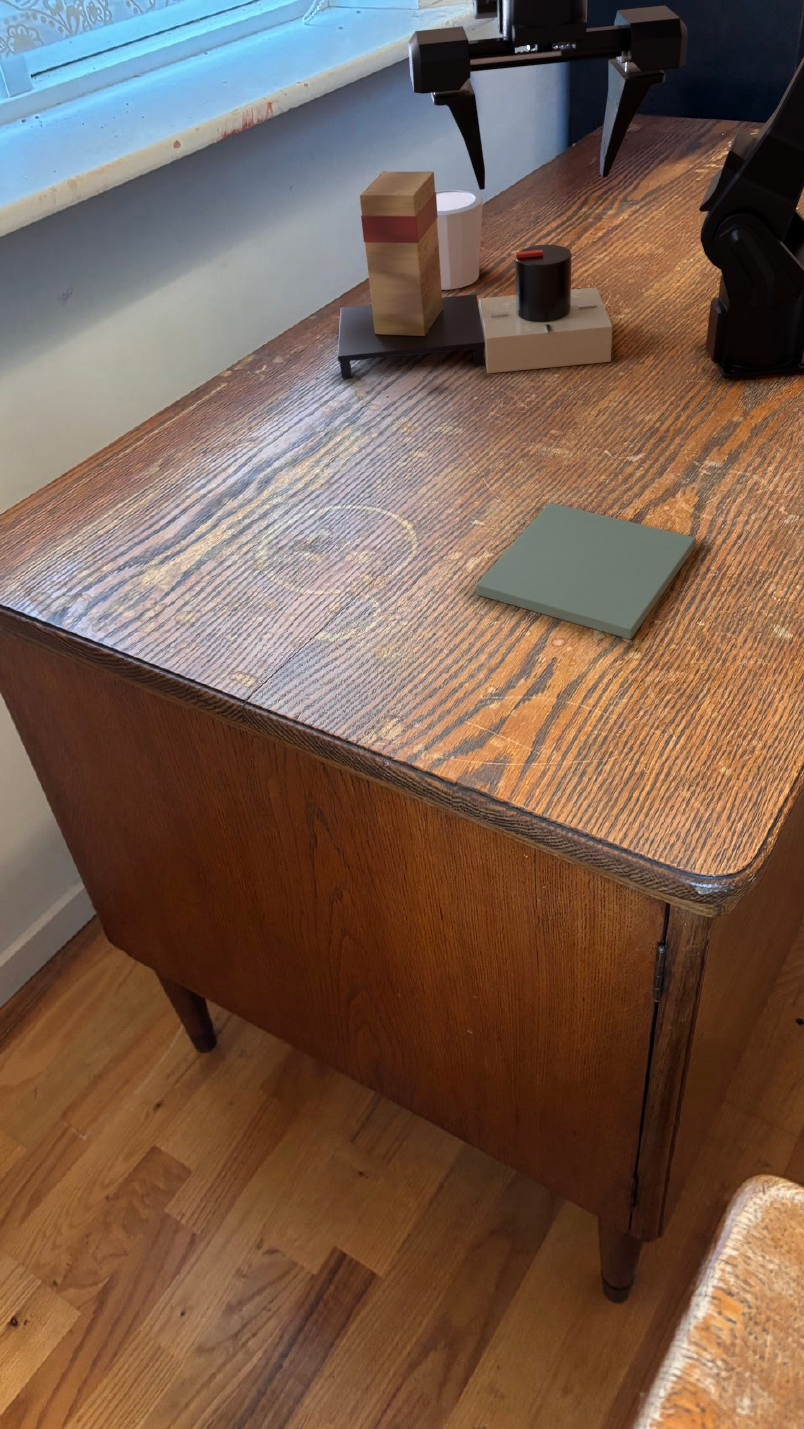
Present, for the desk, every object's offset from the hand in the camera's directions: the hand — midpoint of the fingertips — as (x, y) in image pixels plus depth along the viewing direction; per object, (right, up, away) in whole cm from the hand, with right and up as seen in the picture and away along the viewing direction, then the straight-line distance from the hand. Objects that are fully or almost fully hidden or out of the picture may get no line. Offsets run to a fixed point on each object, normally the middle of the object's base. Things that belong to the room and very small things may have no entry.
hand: (542, 182), depth 79 cm
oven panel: (+1, -9, +9) cm, 13 cm away
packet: (-10, -7, +10) cm, 16 cm away
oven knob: (+1, -7, +7) cm, 10 cm away
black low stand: (-10, -8, +11) cm, 17 cm away
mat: (+1, -31, -15) cm, 35 cm away
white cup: (-6, +2, +22) cm, 23 cm away
